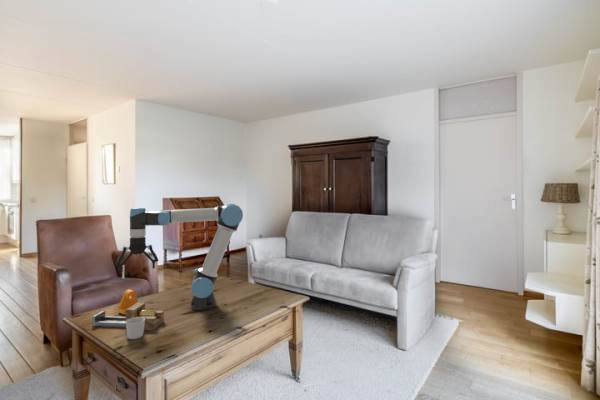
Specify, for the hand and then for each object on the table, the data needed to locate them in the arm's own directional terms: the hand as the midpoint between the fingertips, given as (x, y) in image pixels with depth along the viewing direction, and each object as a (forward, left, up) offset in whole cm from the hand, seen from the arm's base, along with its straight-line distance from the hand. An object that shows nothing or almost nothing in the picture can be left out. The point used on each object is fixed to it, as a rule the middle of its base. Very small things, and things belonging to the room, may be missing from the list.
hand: (137, 276), depth 173 cm
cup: (-11, +21, -23) cm, 33 cm away
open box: (-9, +8, -23) cm, 26 cm away
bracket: (+8, -9, -23) cm, 26 cm away
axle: (-6, +8, -19) cm, 22 cm away
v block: (+7, +8, -23) cm, 25 cm away
